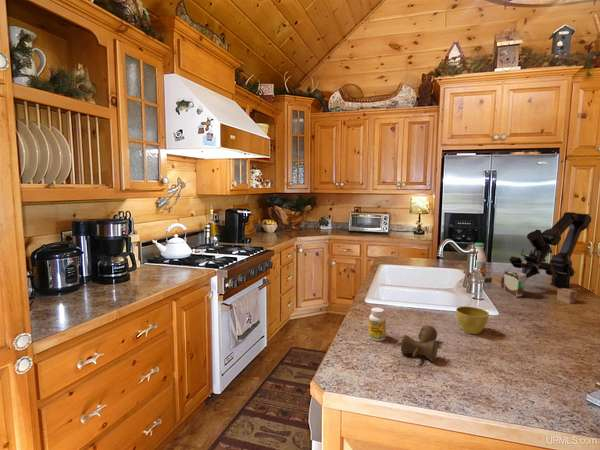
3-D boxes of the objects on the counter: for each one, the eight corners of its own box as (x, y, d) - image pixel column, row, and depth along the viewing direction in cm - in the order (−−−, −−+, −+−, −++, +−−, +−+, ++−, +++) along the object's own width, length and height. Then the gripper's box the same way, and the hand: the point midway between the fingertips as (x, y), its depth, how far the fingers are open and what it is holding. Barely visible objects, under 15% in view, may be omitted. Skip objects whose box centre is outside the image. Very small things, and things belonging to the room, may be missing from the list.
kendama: (444, 344, 111) (431, 371, 95) (414, 338, 117) (395, 362, 100) (445, 326, 111) (431, 349, 94) (414, 320, 116) (396, 341, 99)
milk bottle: (469, 281, 183) (471, 243, 181) (468, 277, 190) (470, 241, 188) (485, 283, 180) (488, 244, 178) (484, 279, 187) (486, 242, 185)
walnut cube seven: (563, 298, 156) (564, 287, 155) (576, 302, 152) (577, 290, 151) (556, 300, 154) (557, 289, 153) (569, 303, 149) (570, 292, 149)
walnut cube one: (498, 283, 180) (499, 273, 179) (507, 286, 175) (508, 276, 174) (491, 284, 178) (492, 274, 177) (500, 287, 173) (501, 277, 172)
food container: (532, 298, 155) (533, 276, 154) (518, 299, 155) (519, 277, 154) (515, 290, 167) (516, 270, 166) (502, 290, 167) (503, 270, 166)
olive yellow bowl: (461, 323, 128) (462, 304, 127) (491, 331, 120) (493, 311, 120) (450, 331, 121) (451, 310, 120) (481, 340, 113) (483, 319, 113)
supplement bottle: (385, 335, 116) (386, 307, 115) (384, 342, 111) (385, 313, 110) (369, 333, 118) (370, 305, 117) (367, 340, 113) (368, 311, 112)
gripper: (513, 239, 171) (496, 264, 167) (553, 246, 154) (535, 273, 151) (522, 254, 175) (505, 278, 172) (563, 262, 158) (545, 288, 155)
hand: (522, 279), depth 162 cm, fingers closed
